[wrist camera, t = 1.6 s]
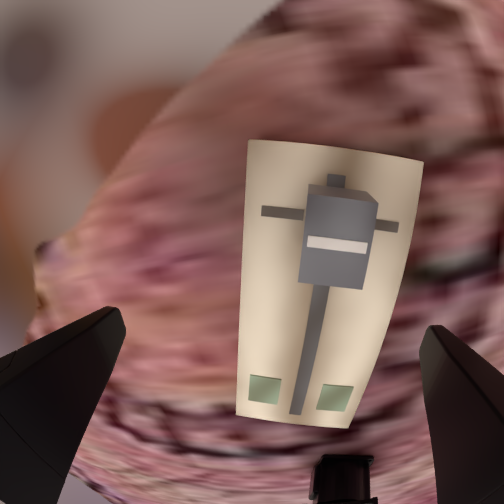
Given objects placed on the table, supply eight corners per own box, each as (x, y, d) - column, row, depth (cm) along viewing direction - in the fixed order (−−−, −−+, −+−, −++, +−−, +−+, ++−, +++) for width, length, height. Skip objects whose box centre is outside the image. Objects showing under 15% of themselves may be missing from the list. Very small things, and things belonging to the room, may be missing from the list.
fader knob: (363, 188, 16) (379, 203, 12) (352, 256, 17) (362, 290, 13) (308, 181, 16) (307, 194, 12) (301, 250, 17) (297, 282, 14)
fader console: (408, 158, 17) (424, 162, 15) (347, 404, 25) (348, 429, 23) (257, 139, 19) (247, 139, 16) (243, 391, 27) (235, 415, 24)
